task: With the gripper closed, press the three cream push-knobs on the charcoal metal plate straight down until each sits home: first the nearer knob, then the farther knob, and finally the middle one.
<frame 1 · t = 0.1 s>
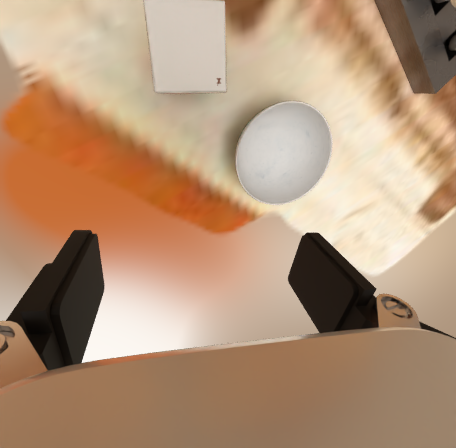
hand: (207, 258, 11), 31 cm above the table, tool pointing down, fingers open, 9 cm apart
supplement box: (182, 62, 33), on the table
chinaware: (266, 146, 41), on the table
knob plate: (416, 1, 35), on the table
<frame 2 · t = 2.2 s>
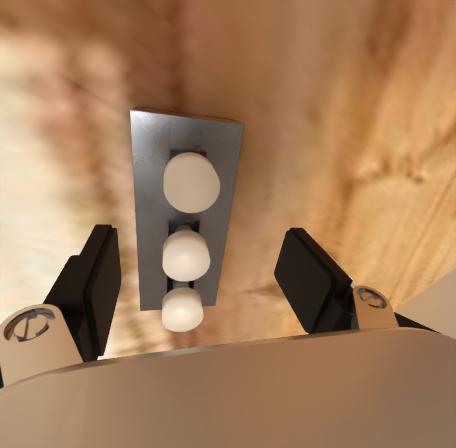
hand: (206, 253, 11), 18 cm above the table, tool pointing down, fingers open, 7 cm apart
knob 1: (181, 298, 28), point 7 cm above the table, slide at 0.0 cm
knob middle: (185, 246, 24), point 7 cm above the table, slide at 0.0 cm
knob 2: (189, 176, 21), point 7 cm above the table, slide at 0.0 cm
knob plate: (182, 216, 30), on the table
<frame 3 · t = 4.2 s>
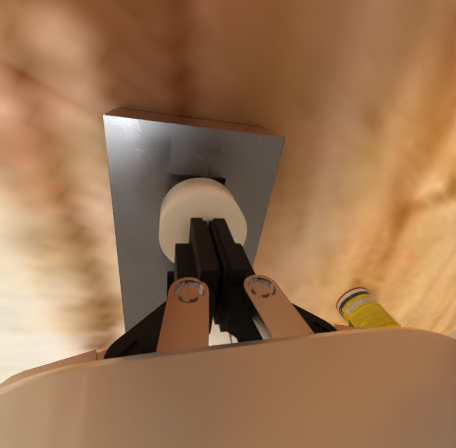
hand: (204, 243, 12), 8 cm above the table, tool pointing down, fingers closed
knob middle: (191, 313, 17), point 7 cm above the table, slide at 0.0 cm
supplement bottle: (351, 298, 32), on the table
knob 2: (198, 210, 14), point 5 cm above the table, slide at 1.3 cm, touching gripper
knob plate: (185, 255, 22), on the table
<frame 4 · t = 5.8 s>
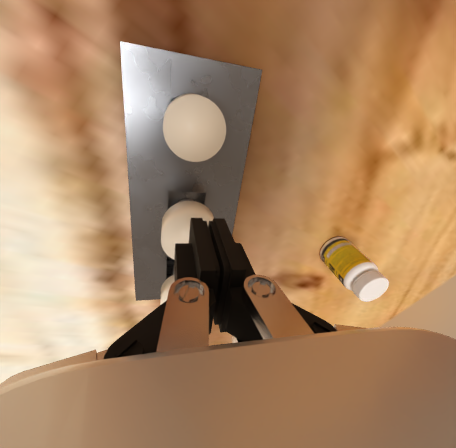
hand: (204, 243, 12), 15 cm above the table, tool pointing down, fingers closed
knob 1: (183, 285, 24), point 7 cm above the table, slide at 0.0 cm
knob middle: (188, 222, 20), point 7 cm above the table, slide at 0.0 cm
supplement bottle: (332, 248, 36), on the table
knob 2: (192, 124, 19), point 4 cm above the table, slide at 2.6 cm
knob plate: (184, 192, 26), on the table
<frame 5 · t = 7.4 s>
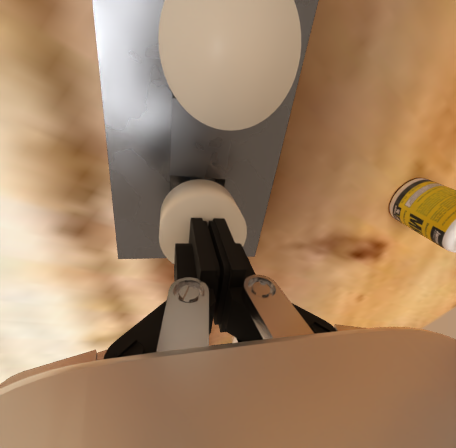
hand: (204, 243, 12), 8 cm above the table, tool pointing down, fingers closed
knob 1: (198, 212, 14), point 5 cm above the table, slide at 1.3 cm, touching gripper
knob middle: (217, 60, 10), point 7 cm above the table, slide at 0.0 cm
supplement bottle: (406, 198, 25), on the table
knob plate: (199, 69, 15), on the table
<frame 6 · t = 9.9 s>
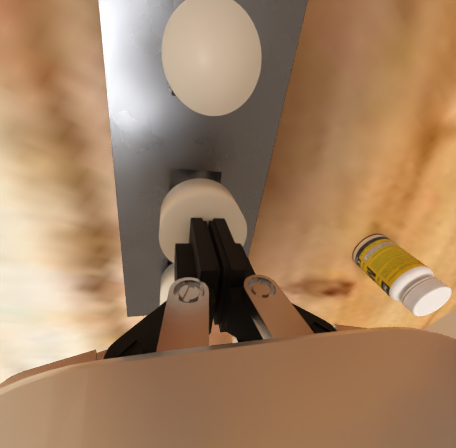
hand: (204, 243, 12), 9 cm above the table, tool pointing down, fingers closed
knob 1: (187, 276, 20), point 4 cm above the table, slide at 2.6 cm
knob middle: (198, 211, 14), point 7 cm above the table, slide at 0.0 cm, touching gripper
supplement bottle: (368, 248, 29), on the table
knob 2: (205, 65, 13), point 4 cm above the table, slide at 2.6 cm
knob plate: (190, 174, 20), on the table
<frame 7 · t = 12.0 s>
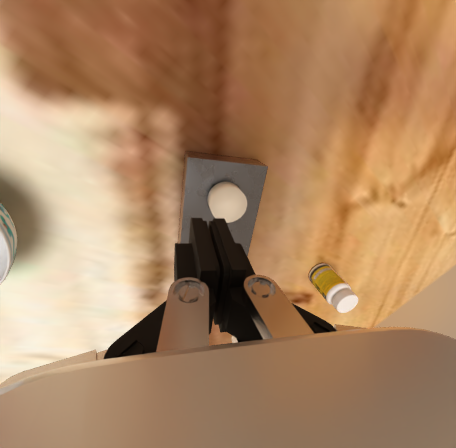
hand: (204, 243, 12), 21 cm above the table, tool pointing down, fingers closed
supplement bottle: (318, 271, 46), on the table
knob 2: (224, 197, 30), point 4 cm above the table, slide at 2.6 cm
knob plate: (211, 233, 37), on the table
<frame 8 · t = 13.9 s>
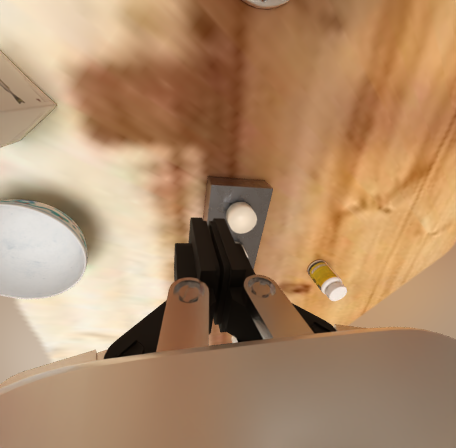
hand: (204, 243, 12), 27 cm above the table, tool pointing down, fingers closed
supplement box: (10, 97, 28), on the table
knob middle: (231, 250, 42), point 4 cm above the table, slide at 2.6 cm
supplement bottle: (315, 266, 55), on the table
knob 2: (238, 213, 38), point 4 cm above the table, slide at 2.6 cm
chinaware: (47, 226, 37), on the table
knob plate: (227, 238, 45), on the table
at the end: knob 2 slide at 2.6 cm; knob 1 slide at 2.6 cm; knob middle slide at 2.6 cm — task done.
